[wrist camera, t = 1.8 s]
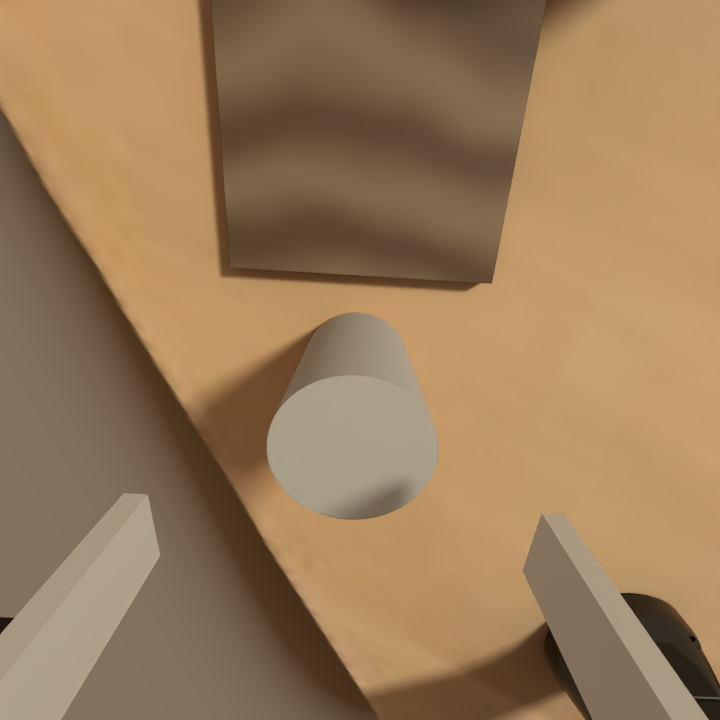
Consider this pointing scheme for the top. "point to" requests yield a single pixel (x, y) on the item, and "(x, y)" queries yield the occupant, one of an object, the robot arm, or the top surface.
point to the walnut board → (371, 132)
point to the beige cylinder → (353, 423)
